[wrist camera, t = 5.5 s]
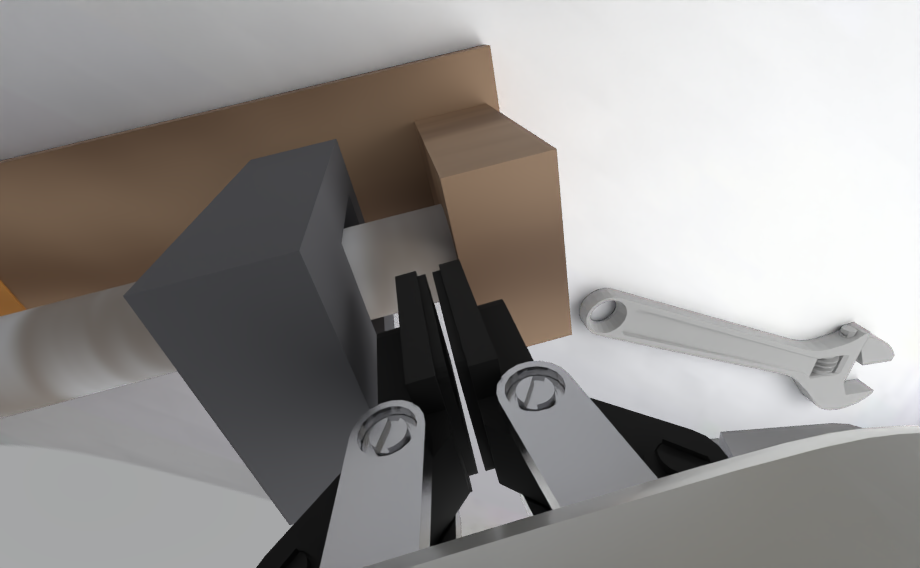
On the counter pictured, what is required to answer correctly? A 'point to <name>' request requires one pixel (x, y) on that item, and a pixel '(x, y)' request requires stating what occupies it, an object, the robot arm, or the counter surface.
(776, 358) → the adjustable wrench
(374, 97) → the pipe stand
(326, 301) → the collar
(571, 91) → the counter surface
